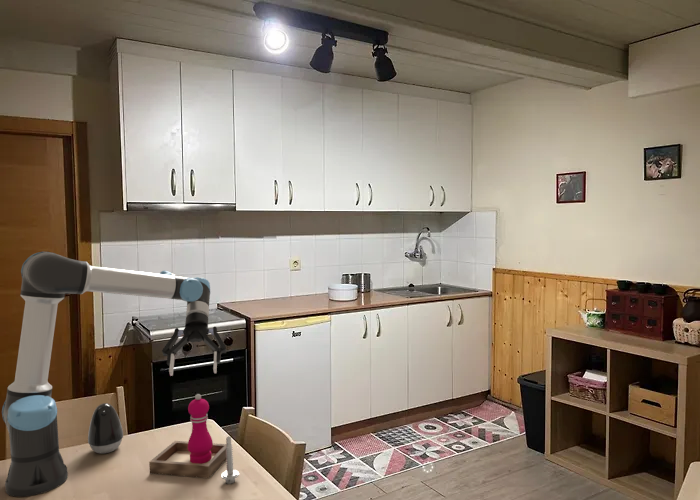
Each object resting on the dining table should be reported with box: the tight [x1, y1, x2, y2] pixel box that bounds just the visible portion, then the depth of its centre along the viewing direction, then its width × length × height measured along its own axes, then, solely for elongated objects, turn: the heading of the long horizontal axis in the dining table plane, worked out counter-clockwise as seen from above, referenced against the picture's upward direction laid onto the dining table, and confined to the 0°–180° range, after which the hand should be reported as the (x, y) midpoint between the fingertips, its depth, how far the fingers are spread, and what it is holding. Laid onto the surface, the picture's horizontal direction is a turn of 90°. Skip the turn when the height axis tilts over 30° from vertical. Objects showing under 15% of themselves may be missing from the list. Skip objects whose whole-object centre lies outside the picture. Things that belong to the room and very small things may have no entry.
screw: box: [220, 436, 240, 485], centre depth 148 cm, size 13×5×5 cm
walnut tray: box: [148, 440, 227, 479], centre depth 160 cm, size 18×14×4 cm
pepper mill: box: [187, 393, 214, 464], centre depth 160 cm, size 7×7×20 cm
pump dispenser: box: [87, 402, 124, 455], centre depth 170 cm, size 10×10×15 cm
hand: (193, 372), depth 171 cm, fingers open, 13 cm apart
